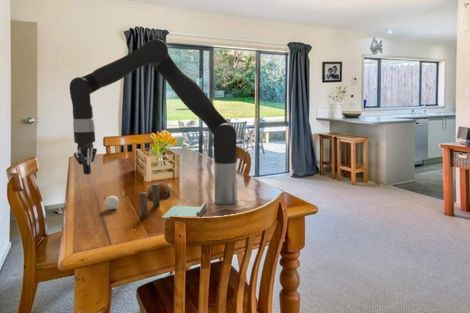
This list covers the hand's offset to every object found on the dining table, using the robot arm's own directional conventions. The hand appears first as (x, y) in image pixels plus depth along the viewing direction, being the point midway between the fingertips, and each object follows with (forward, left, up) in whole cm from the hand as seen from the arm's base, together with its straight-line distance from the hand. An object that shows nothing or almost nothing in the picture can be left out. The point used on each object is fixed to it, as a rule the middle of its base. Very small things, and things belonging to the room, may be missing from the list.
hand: (87, 174), depth 140 cm
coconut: (-22, -21, -15) cm, 34 cm away
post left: (-26, +6, -14) cm, 30 cm away
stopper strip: (-46, 0, -14) cm, 48 cm away
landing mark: (-40, 0, -14) cm, 42 cm away
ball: (-10, 0, -11) cm, 15 cm away
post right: (-26, -6, -14) cm, 30 cm away
